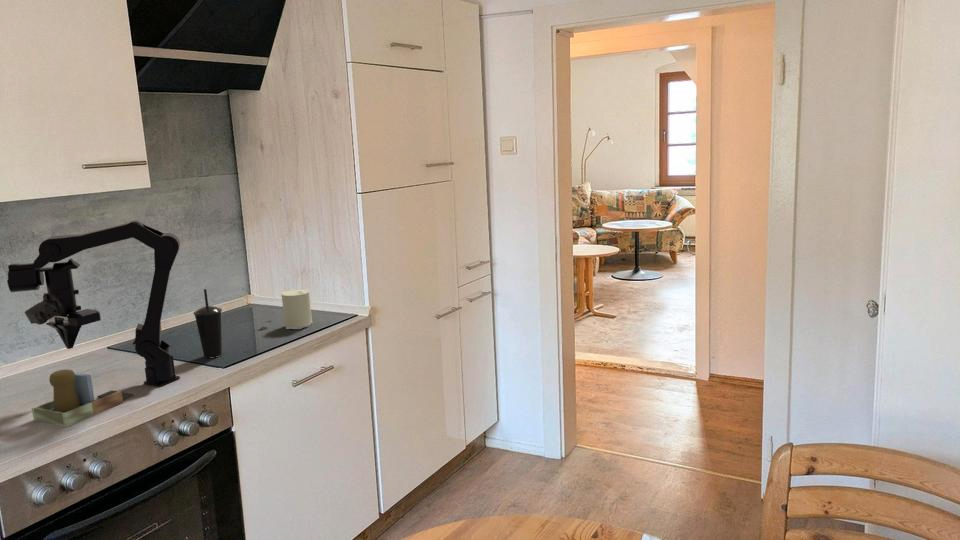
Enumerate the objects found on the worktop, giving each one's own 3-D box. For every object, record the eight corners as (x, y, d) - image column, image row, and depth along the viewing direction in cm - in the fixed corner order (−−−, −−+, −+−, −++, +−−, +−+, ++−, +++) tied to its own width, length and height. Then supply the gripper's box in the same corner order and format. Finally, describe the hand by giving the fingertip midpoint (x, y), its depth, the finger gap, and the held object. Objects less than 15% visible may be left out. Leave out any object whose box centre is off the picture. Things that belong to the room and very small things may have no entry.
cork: (88, 410, 166) (81, 366, 164) (75, 420, 160) (67, 374, 158) (62, 411, 166) (55, 367, 164) (48, 421, 160) (40, 376, 158)
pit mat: (111, 391, 178) (111, 390, 178) (134, 395, 175) (133, 393, 175) (97, 397, 174) (97, 395, 174) (120, 401, 171) (119, 399, 171)
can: (298, 331, 227) (294, 295, 224) (278, 328, 231) (274, 292, 229) (318, 323, 234) (315, 289, 232) (298, 321, 239) (295, 286, 237)
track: (91, 397, 175) (89, 386, 174) (123, 402, 170) (121, 391, 169) (33, 420, 162) (31, 407, 161) (66, 426, 157) (64, 414, 156)
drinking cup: (227, 357, 202) (219, 290, 198) (199, 361, 199) (190, 293, 195) (226, 350, 209) (218, 285, 205) (199, 354, 206) (190, 288, 202)
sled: (72, 406, 169) (66, 371, 167) (96, 411, 165) (90, 374, 163) (44, 417, 162) (38, 381, 161) (68, 422, 159) (62, 385, 157)
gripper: (3, 292, 169) (13, 354, 172) (54, 297, 161) (64, 362, 164) (47, 283, 179) (56, 341, 182) (97, 287, 171) (106, 348, 174)
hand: (69, 348), depth 175 cm, fingers closed
